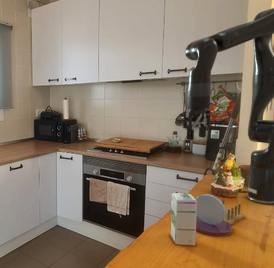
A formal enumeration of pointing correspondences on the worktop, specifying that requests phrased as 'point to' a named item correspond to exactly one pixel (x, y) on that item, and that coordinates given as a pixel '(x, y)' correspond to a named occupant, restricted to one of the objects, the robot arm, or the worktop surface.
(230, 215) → the dish rack
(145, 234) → the worktop surface
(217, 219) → the plate
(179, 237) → the syrup box
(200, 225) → the plum plate
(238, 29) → the robot arm
